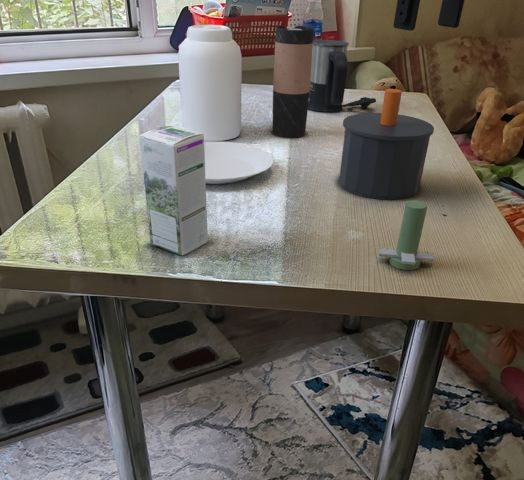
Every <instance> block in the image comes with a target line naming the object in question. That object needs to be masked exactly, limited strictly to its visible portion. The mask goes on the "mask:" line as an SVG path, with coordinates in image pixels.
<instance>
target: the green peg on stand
mask: <svg viewBox="0 0 524 480" xmlns="http://www.w3.org/2000/svg"><path fill="white" fill-rule="evenodd" d="M403 210H404V211H403V216H402V220H401V226H400V231H399V236H398V241H397V246H396V247H397V248H396V249H392V248H384V247H383V248H382V247H380V248H378V257H383V258H389V259H388V262H389V264H390V265H391V266H392V267H393V268H396V269H399V270H404V271H414V270H417V269H419V268H420V266H421V263H422V261H423V262H424V261H425V262H435V255H434V254H435V253H432V252H422V251H419V248H420V242H421V237H422V233H423V228H424V223H425V220H426V219H425V218H426V215H427V211H428V204H427V202H424V201H421V200H417V199H416V200H415V199H414V200H407V201H406V202H405V205H404V209H403Z"/></svg>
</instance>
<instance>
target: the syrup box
mask: <svg viewBox="0 0 524 480" xmlns="http://www.w3.org/2000/svg"><path fill="white" fill-rule="evenodd" d="M204 142H205V141H204V134H203V133H198V132H194V131H190V130H186V129H182V127H177V126H172V125H166V126H164V125H163V126H160V127H156V128H154V129H150V130H148V131H145V132H144V133H141V134H139V146H140V155H141V156H140V157H141V164H142V174H143V181H144V182H143V183H144V191H145V193H144V194H145V201H146V202H145V203H146V210H147V221H148V228H149V238H150V245H152V246H155V247H156V248H159V249H163V250H165V251H167V252H171V253H173V254H176V255H179V256H182V257H183V256H185V255H188V254H189V253H192V252H193V251H195V250H196V249H198V248H200V247H202V246H204V245H206V244H208V243H209V229H208V211H207V210H208V209H207V185H206V179H205V149H204Z"/></svg>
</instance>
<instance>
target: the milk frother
mask: <svg viewBox="0 0 524 480" xmlns="http://www.w3.org/2000/svg"><path fill="white" fill-rule="evenodd" d="M349 45H350V43H349V42H347V41H343V40H334V39H333V40H332V39H315V40H314V39H313V48H312V63H311V78H310V91H309V102H308V110H311V111H316V112H339V111H341V110H342V109H343V108H347V107H357V106H360V108H361V109H367V108H368V107H369V106H371V104H374V103H375V104H376V102H377V98H375V97H371V98H370V97H367V96H363V97H360V98H359V99H358V100H353V101H351V102H349V103H345V104H343V103H344V97H345V92H346V91H345V90H346V84H347V76H348V71H349V70H348V69H349V63H348V57H347V54H348V46H349Z"/></svg>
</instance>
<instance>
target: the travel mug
mask: <svg viewBox="0 0 524 480" xmlns="http://www.w3.org/2000/svg"><path fill="white" fill-rule="evenodd" d="M314 31H315V29H314V27H311V26H306V25H295V26H294V27H293V28H287V27H286V26H285V25H277V26H276V27H275V38H274V39H275V42H274V60H273V61H274V62H273V80H272V81H273V82H272V134H273V135H274V136H277V137H280V138H286V139H295V138H301V137H304V136H305V135H306V129H307V120H308V112H309V111H308V110H309V109H308V102H309V91H310V78H311V63H312V48H313V41H314V33H315V32H314Z"/></svg>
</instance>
